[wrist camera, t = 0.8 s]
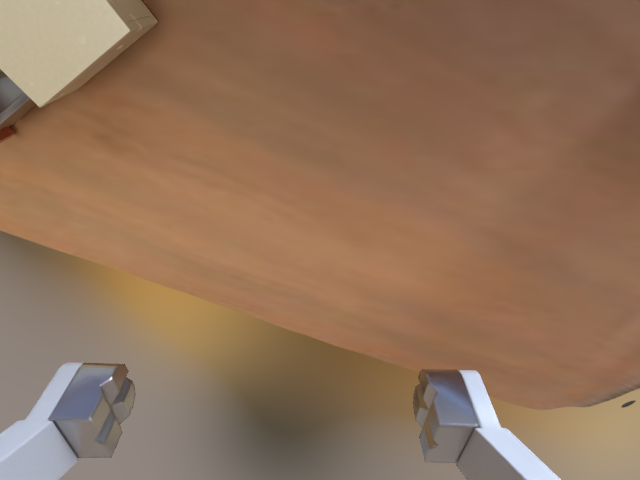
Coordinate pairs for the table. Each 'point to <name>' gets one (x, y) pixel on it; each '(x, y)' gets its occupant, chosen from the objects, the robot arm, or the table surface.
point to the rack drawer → (11, 105)
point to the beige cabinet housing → (65, 41)
